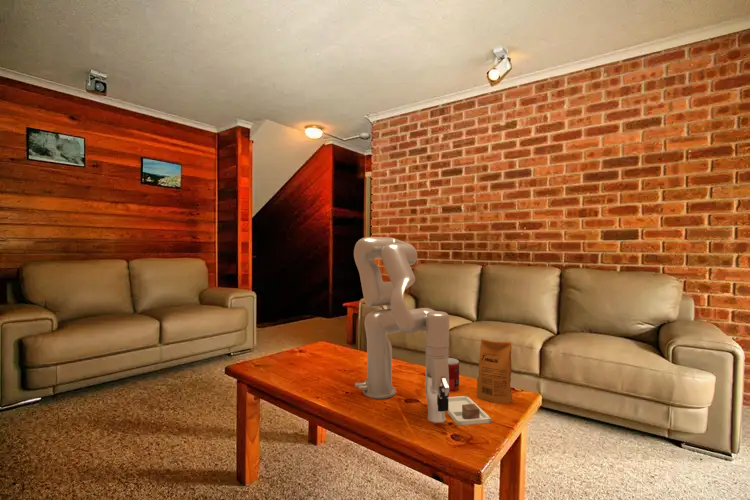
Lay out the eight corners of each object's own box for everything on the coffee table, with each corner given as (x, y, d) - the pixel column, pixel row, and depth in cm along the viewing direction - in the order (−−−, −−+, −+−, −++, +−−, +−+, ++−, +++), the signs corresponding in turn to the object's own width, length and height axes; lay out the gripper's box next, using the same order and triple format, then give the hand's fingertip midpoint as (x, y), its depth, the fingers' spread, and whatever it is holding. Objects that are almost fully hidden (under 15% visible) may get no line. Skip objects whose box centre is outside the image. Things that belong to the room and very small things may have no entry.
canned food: (459, 392, 139) (459, 364, 139) (438, 390, 141) (438, 362, 141) (458, 385, 147) (458, 358, 147) (438, 383, 149) (438, 356, 149)
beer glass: (423, 417, 119) (423, 371, 119) (444, 416, 119) (444, 371, 119) (428, 428, 112) (428, 379, 112) (450, 427, 112) (450, 378, 112)
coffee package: (480, 392, 140) (480, 335, 140) (514, 399, 133) (514, 339, 133) (473, 401, 131) (473, 340, 131) (509, 409, 125) (509, 345, 125)
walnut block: (467, 423, 112) (467, 410, 112) (462, 417, 116) (462, 404, 116) (479, 421, 113) (479, 409, 113) (473, 416, 117) (473, 403, 117)
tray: (458, 429, 111) (458, 421, 111) (437, 404, 129) (437, 397, 129) (491, 426, 113) (491, 418, 113) (467, 402, 130) (467, 395, 130)
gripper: (418, 344, 124) (418, 394, 124) (435, 359, 107) (435, 417, 107) (439, 343, 125) (439, 393, 125) (459, 357, 108) (459, 415, 108)
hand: (437, 404), depth 116 cm, fingers open, 9 cm apart
